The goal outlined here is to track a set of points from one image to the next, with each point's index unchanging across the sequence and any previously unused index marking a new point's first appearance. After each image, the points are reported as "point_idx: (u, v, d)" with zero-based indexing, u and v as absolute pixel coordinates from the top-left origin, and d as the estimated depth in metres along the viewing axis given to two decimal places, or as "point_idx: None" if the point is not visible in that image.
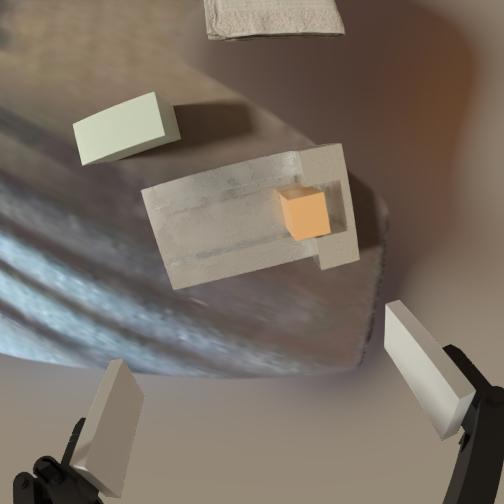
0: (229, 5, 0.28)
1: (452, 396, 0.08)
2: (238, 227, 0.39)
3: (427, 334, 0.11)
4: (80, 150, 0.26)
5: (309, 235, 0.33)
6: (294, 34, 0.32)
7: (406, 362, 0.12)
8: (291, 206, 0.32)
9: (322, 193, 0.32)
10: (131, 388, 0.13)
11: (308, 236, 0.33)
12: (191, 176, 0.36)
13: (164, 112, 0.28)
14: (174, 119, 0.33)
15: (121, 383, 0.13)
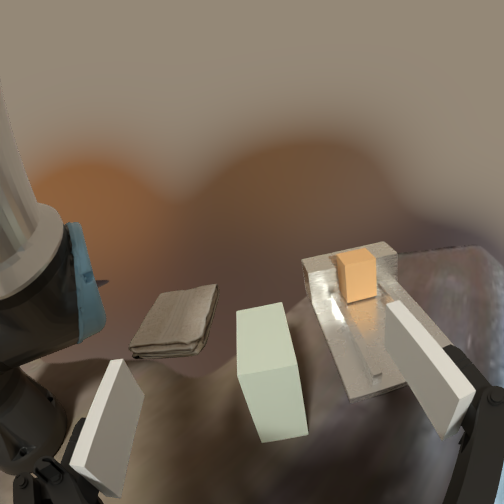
0: (171, 334, 0.42)
1: (452, 396, 0.08)
2: (383, 322, 0.37)
3: (427, 334, 0.11)
4: (276, 366, 0.22)
5: (369, 254, 0.41)
6: (212, 309, 0.49)
7: (406, 362, 0.12)
8: (349, 263, 0.40)
9: (337, 254, 0.43)
10: (131, 388, 0.13)
11: (370, 254, 0.41)
12: (335, 357, 0.33)
13: None
14: None
15: (121, 384, 0.13)
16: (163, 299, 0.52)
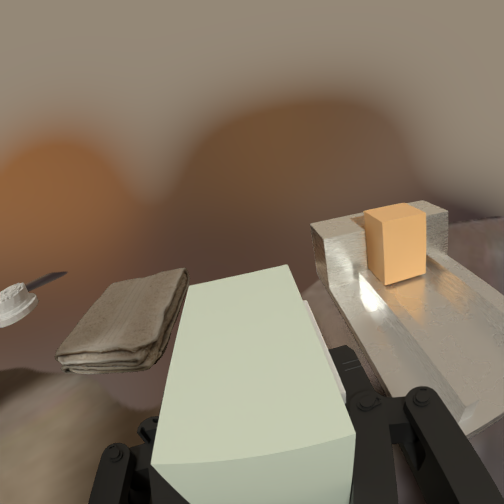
0: (112, 336, 0.26)
1: None
2: (446, 310, 0.21)
3: (318, 333, 0.13)
4: (282, 444, 0.05)
5: (414, 209, 0.25)
6: (177, 301, 0.33)
7: None
8: (388, 219, 0.24)
9: (365, 211, 0.27)
10: None
11: (415, 209, 0.25)
12: (383, 375, 0.17)
13: None
14: None
15: None
16: (112, 290, 0.36)
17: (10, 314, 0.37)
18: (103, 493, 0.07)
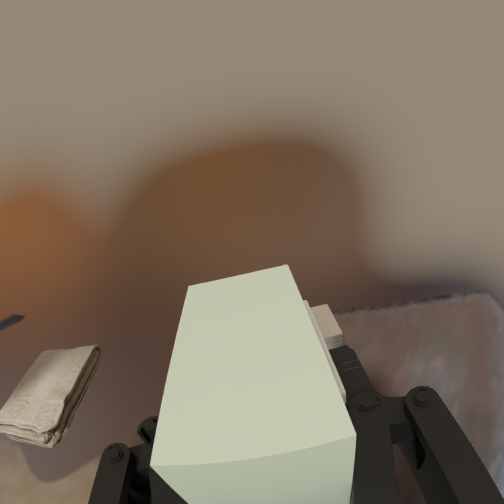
0: (29, 415, 0.24)
1: None
2: None
3: (318, 333, 0.13)
4: (282, 446, 0.05)
5: None
6: (84, 382, 0.32)
7: None
8: None
9: None
10: None
11: None
12: None
13: None
14: None
15: None
16: (39, 361, 0.34)
17: None
18: (103, 493, 0.07)
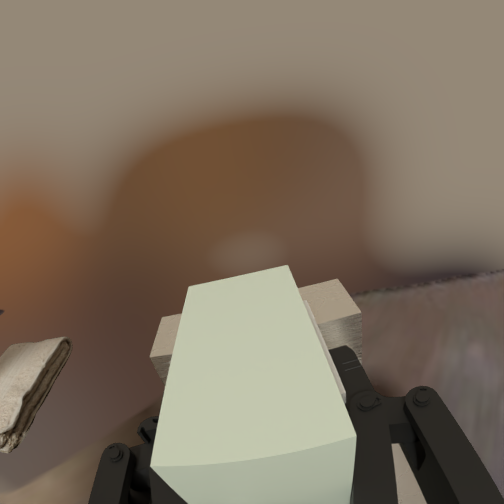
0: None
1: None
2: None
3: (318, 333, 0.13)
4: (282, 446, 0.05)
5: None
6: (49, 378, 0.25)
7: None
8: None
9: None
10: None
11: None
12: None
13: None
14: None
15: None
16: (5, 356, 0.27)
17: None
18: (103, 493, 0.07)
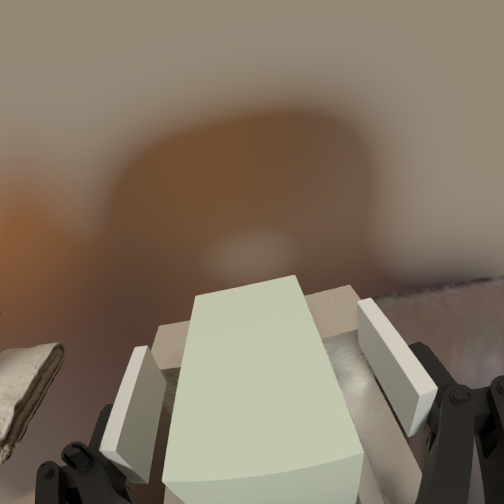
0: None
1: (413, 393, 0.09)
2: None
3: (394, 331, 0.11)
4: (292, 463, 0.05)
5: None
6: (41, 386, 0.24)
7: (375, 358, 0.13)
8: None
9: None
10: (155, 374, 0.14)
11: None
12: None
13: None
14: None
15: (146, 369, 0.13)
16: None
17: None
18: None
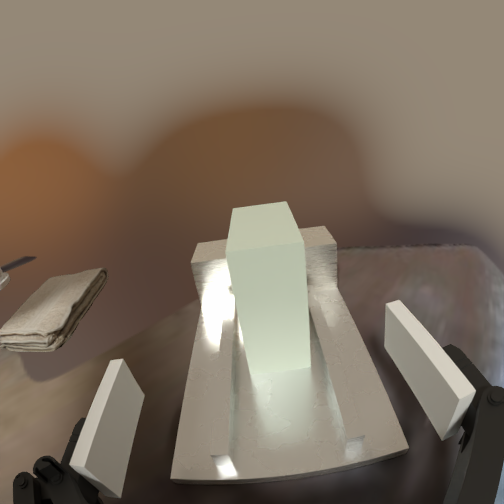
0: (35, 323, 0.29)
1: (452, 396, 0.08)
2: None
3: (427, 334, 0.11)
4: (276, 243, 0.18)
5: None
6: (90, 297, 0.37)
7: (406, 362, 0.12)
8: None
9: None
10: (131, 388, 0.13)
11: None
12: (185, 399, 0.20)
13: None
14: None
15: (121, 383, 0.13)
16: (46, 284, 0.38)
17: None
18: None
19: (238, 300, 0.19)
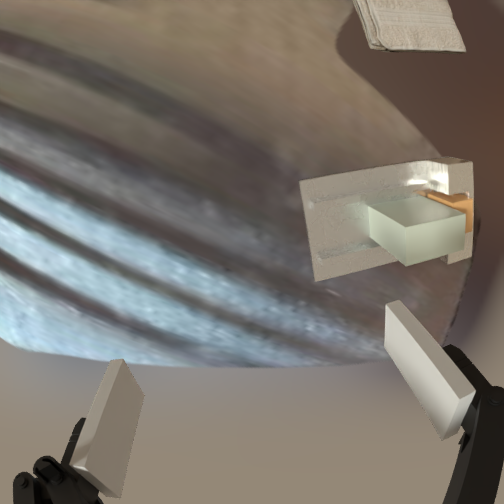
0: (385, 18, 0.28)
1: (452, 396, 0.08)
2: None
3: (427, 334, 0.11)
4: (407, 253, 0.30)
5: None
6: (432, 50, 0.31)
7: (406, 362, 0.12)
8: (453, 208, 0.33)
9: (472, 199, 0.33)
10: (131, 388, 0.13)
11: None
12: (349, 173, 0.37)
13: None
14: None
15: (121, 383, 0.13)
16: None
17: None
18: None
19: (391, 220, 0.32)
